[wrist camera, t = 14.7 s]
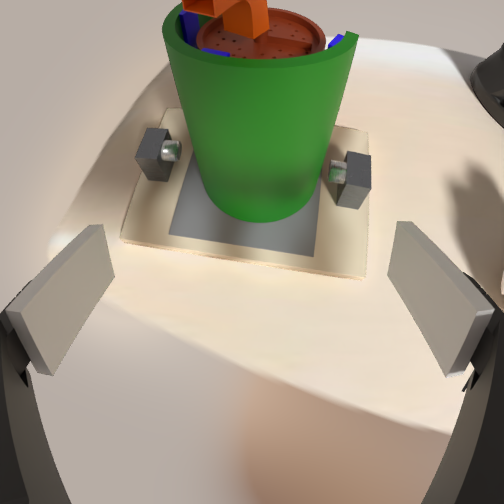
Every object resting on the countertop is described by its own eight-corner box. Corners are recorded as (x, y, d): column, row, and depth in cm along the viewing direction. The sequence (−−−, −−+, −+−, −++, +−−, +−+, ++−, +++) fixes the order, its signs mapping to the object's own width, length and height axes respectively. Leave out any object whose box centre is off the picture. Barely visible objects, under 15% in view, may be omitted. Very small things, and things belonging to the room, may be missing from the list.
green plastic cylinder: (328, 160, 28) (384, -46, 9) (290, 243, 26) (345, 6, 7) (229, 123, 30) (205, -72, 11) (182, 196, 27) (93, -15, 8)
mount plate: (365, 139, 30) (368, 131, 29) (361, 280, 26) (366, 277, 25) (169, 115, 32) (167, 107, 31) (124, 242, 27) (118, 237, 26)
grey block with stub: (358, 178, 28) (370, 155, 24) (358, 209, 27) (371, 188, 23) (325, 172, 28) (333, 147, 24) (322, 203, 27) (331, 181, 23)
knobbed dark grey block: (189, 154, 29) (181, 129, 25) (180, 183, 28) (170, 160, 24) (158, 152, 29) (147, 128, 25) (148, 180, 28) (134, 157, 24)
